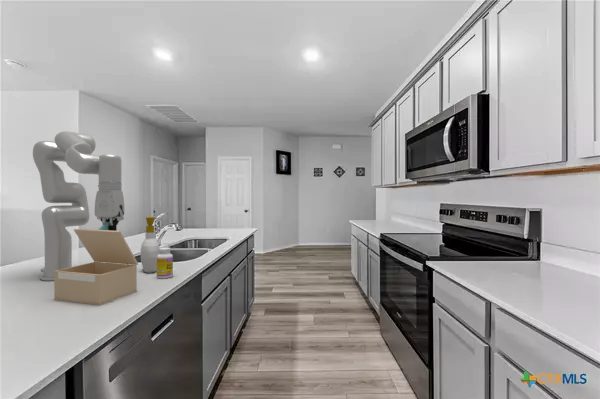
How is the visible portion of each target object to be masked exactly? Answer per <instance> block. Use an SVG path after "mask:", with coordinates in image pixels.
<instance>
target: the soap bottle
mask: <svg viewBox="0 0 600 399" xmlns="http://www.w3.org/2000/svg"><path fill="white" fill-rule="evenodd" d="M145 220H146V227H145V238H144V240H143V241H142V243H141V247H140V263H141V265H142V269H143V271H144V272H145V273H149V274H151V273H155V272H157V255H158V254H160V252H159V249H160V248H161V247H160V244H159V242H158V240H157V239H156V233H155V226H154V223H155V220H159V221H161V220H162V218H155V217H154V216H145Z"/></svg>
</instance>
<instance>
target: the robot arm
mask: <svg viewBox="0 0 600 399" xmlns="http://www.w3.org/2000/svg"><path fill="white" fill-rule="evenodd" d="M96 147H97V146H96V141H95V138H94V137H92V136H91V135H89V134H86V133H81V132H74V131H67V130H66V131H60V132H59V133H57V134H56V135H55V136H54V139H53V140H40V141H38V142H36V143H35V144H34V145H33V149H32V158H33V161H34V164H35V166H36V168H37V170H38V172H39V177H40V183H41V184H40V185H41V191H42V196H43V199H44V200H43V201H44V202H47V203H50V204H70V205H50V206H47V207H46V208H44V209H42V212H41V221H42V227H43V233H44V236H43V237H44V267H43V268H40V269H39V270H40V273H41V272H42V273H43V274H42V275H41V276H40V277H39V280H41V281H45V282H46V281H48V282H49V281H50V282H51V281H52V282H54V271H57V270H61V269H65V268H70V267H73V262H72V261H73V260H72V259H73V258H72V254H73V253H72V252H73V251H72V250H73V248H72V247H73V245H72V242H73V240H72V234H71V233H70V232H69V231H68V229H66V228H67V227H69V228H70V227H81V226H85V225H87V223H89V221H90V209H89V203H88V197H87V191H86V188H85V187H84V185H83V184H81V183H79V182H69V181H68V182H67V181H66V180H65V179H66V178H65V174H64V171H63V170H62V168H61V167H60V166H59V165H58V164H56V162H63V163H64V162H65V163H66V165H67V167H69V168H70V169H71V170H72V171H74V172H76V173H77V174H83V175H98V185H97V187H98V190H97V191H96V195H95V199H94V217H96V219H97V220H99V221H101V223H102V226H103V225H104V224H105V223H106V222H110V226H108V230H111V231H118V228H117V226H118V225H119V222H120V221H123V220H124V219H125V217H124V215H125V199H124V197H125V196H124V194H123V191H122V157H121V156H120V155H118V154H100V155H99V154H93V152H94V151H95V149H96Z"/></svg>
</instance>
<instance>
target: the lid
mask: <svg viewBox="0 0 600 399" xmlns="http://www.w3.org/2000/svg"><path fill="white" fill-rule="evenodd" d="M108 226H110V222H106V223H105V224H104V225H103V224H102V226H100V227H98V229H84V228H73V231H74V233H75V235H76V236H77V238H78V239H79V241H80V242H81V243H82V245H83V246H84V248H85V250H86V251H87V253H88V254H89V256H90V257H91V258H92V259H91V260H92V261H93V262H103V263H116V264H129V265H139V263H138V260H137V259H136V257H135V255H134V253H133V252H132V250H131V248H130V246H129V244H128V243H127V240H126V239H125V238H124V236H123V234H122V232H121V231H120V230H117V231H111V230H108Z"/></svg>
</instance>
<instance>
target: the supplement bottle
mask: <svg viewBox="0 0 600 399" xmlns="http://www.w3.org/2000/svg"><path fill="white" fill-rule="evenodd" d="M159 248H160V249H159V252H160V254H158V255H157V271H156V278H157V279H169V278H172V277H173V275H174V274H173V272H174V270H173V268H174V255H173V254H172V253H171V250H172V249H171V247H159Z"/></svg>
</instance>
